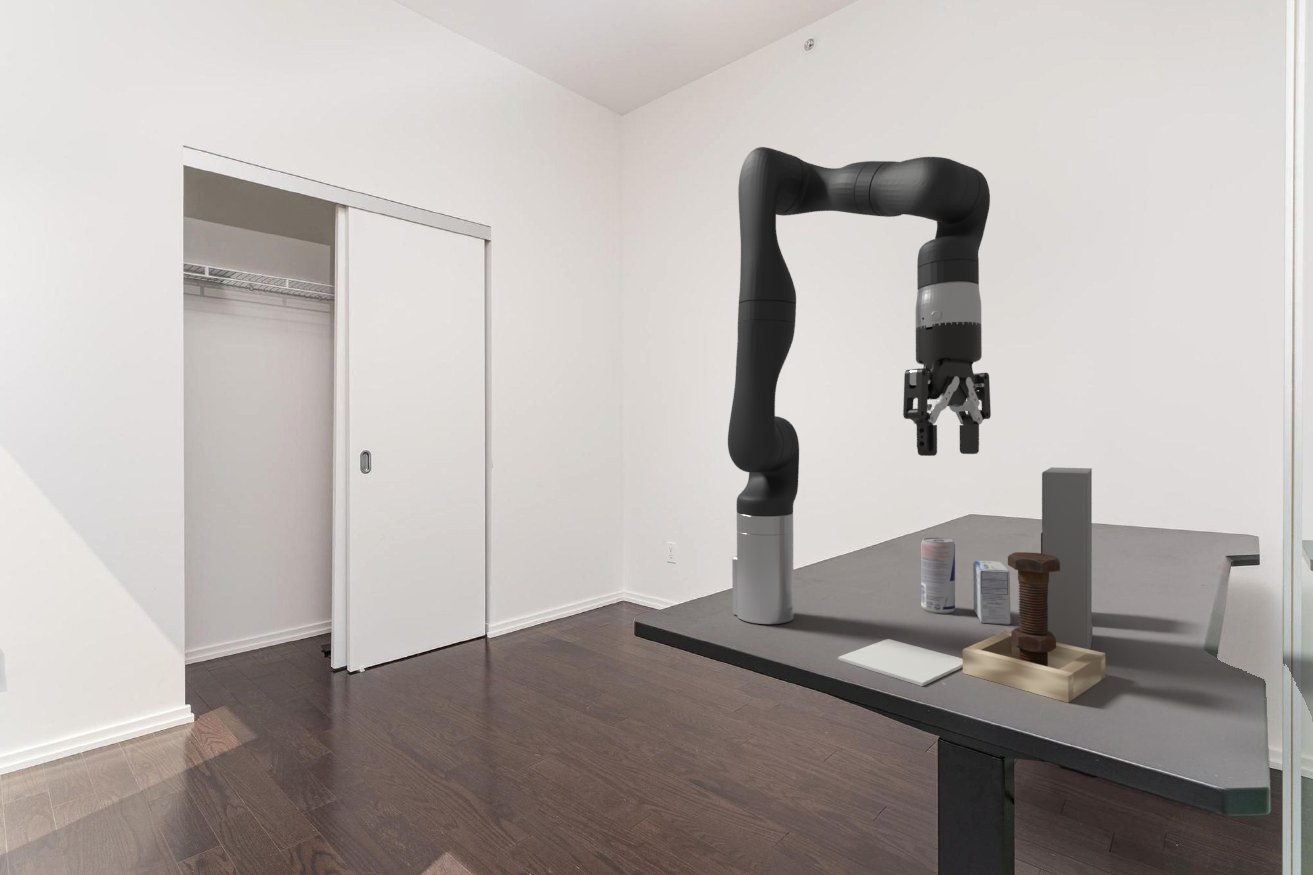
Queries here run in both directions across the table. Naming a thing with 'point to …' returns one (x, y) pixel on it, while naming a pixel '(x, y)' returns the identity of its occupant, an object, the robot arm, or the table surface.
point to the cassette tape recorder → (1069, 553)
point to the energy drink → (938, 575)
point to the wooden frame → (1035, 667)
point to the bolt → (1033, 605)
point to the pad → (904, 661)
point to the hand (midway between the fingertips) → (948, 454)
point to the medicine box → (991, 592)
